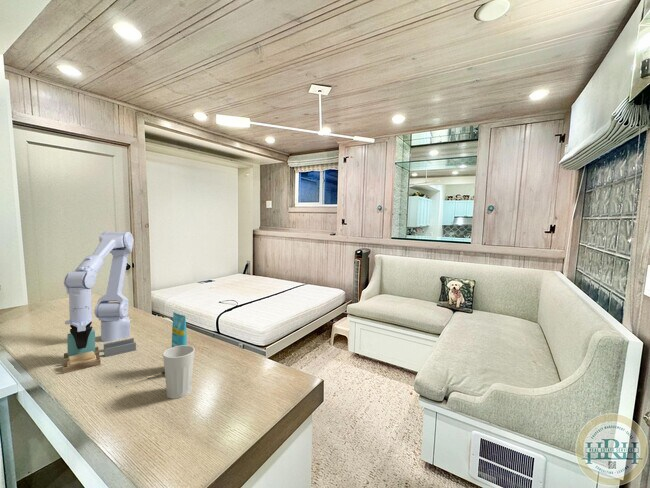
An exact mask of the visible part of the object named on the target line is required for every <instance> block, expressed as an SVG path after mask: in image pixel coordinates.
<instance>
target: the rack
mask: <svg viewBox="0 0 650 488" xmlns="http://www.w3.org/2000/svg"><path fill="white" fill-rule="evenodd" d="M94 353H95V355H96V360H95V361H91V362H87V363H82V364H78V365H74V366H69V367H67V363H68V361H69V358H68V352H65V353H63V360H62V361H63V368H62V375H64V374H67V373H73V372H76V371H80V370H81V371H82V370H85V369H88V368H89V369H90V368H94V367H98V366H101V358H100V351H99V346H95V352H94Z"/></svg>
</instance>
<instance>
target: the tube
mask: <svg viewBox="0 0 650 488" xmlns="http://www.w3.org/2000/svg"><path fill="white" fill-rule="evenodd" d="M171 326H172V327H171V329H172V330H171V348H172V347H175V346H181V345H188V337H187V320H186V315H185V314H184V315H183V314H179V313H177V312H175V311H172V325H171Z"/></svg>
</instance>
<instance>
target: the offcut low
mask: <svg viewBox="0 0 650 488" xmlns="http://www.w3.org/2000/svg"><path fill="white" fill-rule="evenodd" d="M95 360H96V355H95V359H91V360H87V361H83V362H79V363H76V364H72V365H70V363H69V361H68V363H67V367H69V366H74V365H78V364H82V363H87V362H91V361H95Z"/></svg>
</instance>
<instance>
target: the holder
mask: <svg viewBox="0 0 650 488" xmlns="http://www.w3.org/2000/svg"><path fill="white" fill-rule="evenodd" d="M134 340H135V339H134V337H132V338H131V337H130V338H125V339H120V340H115V341H110V342H106V343H103V354H104V358H108V357H113V356H116V355H117V356H118V355H121V354H126V353H131V352H134V351H137V342H135V341H134Z"/></svg>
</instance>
